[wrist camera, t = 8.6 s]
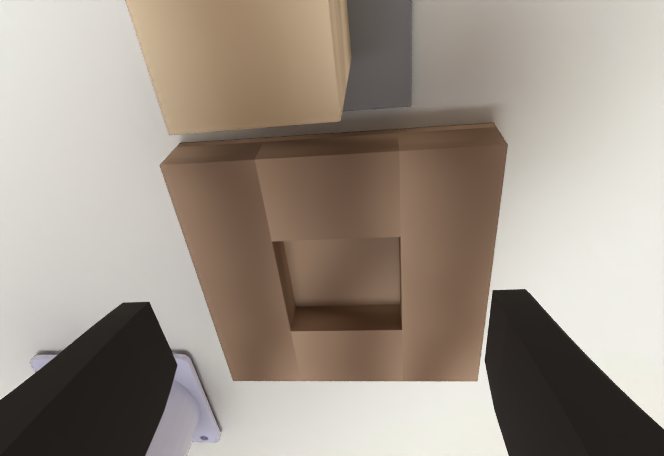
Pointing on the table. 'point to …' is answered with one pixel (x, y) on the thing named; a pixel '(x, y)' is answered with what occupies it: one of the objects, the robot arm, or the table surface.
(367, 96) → the rubber mat
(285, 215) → the pocket block
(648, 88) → the table surface
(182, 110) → the birch peg
